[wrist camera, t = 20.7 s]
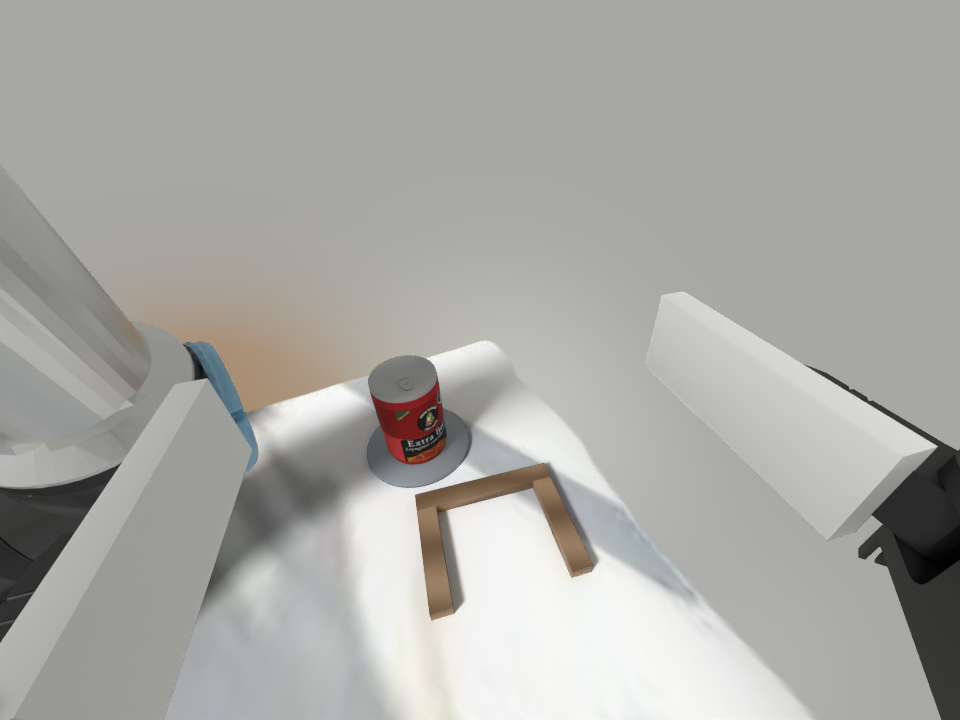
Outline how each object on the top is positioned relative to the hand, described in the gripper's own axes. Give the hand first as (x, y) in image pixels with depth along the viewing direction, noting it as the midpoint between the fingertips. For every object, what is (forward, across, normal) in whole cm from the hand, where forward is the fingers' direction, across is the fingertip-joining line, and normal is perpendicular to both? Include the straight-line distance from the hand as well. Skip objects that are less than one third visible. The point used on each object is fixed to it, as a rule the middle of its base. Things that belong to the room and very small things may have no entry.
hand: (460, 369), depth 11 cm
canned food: (+25, -3, -30) cm, 39 cm away
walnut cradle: (+11, +3, -30) cm, 32 cm away
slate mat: (+26, -3, -30) cm, 40 cm away
